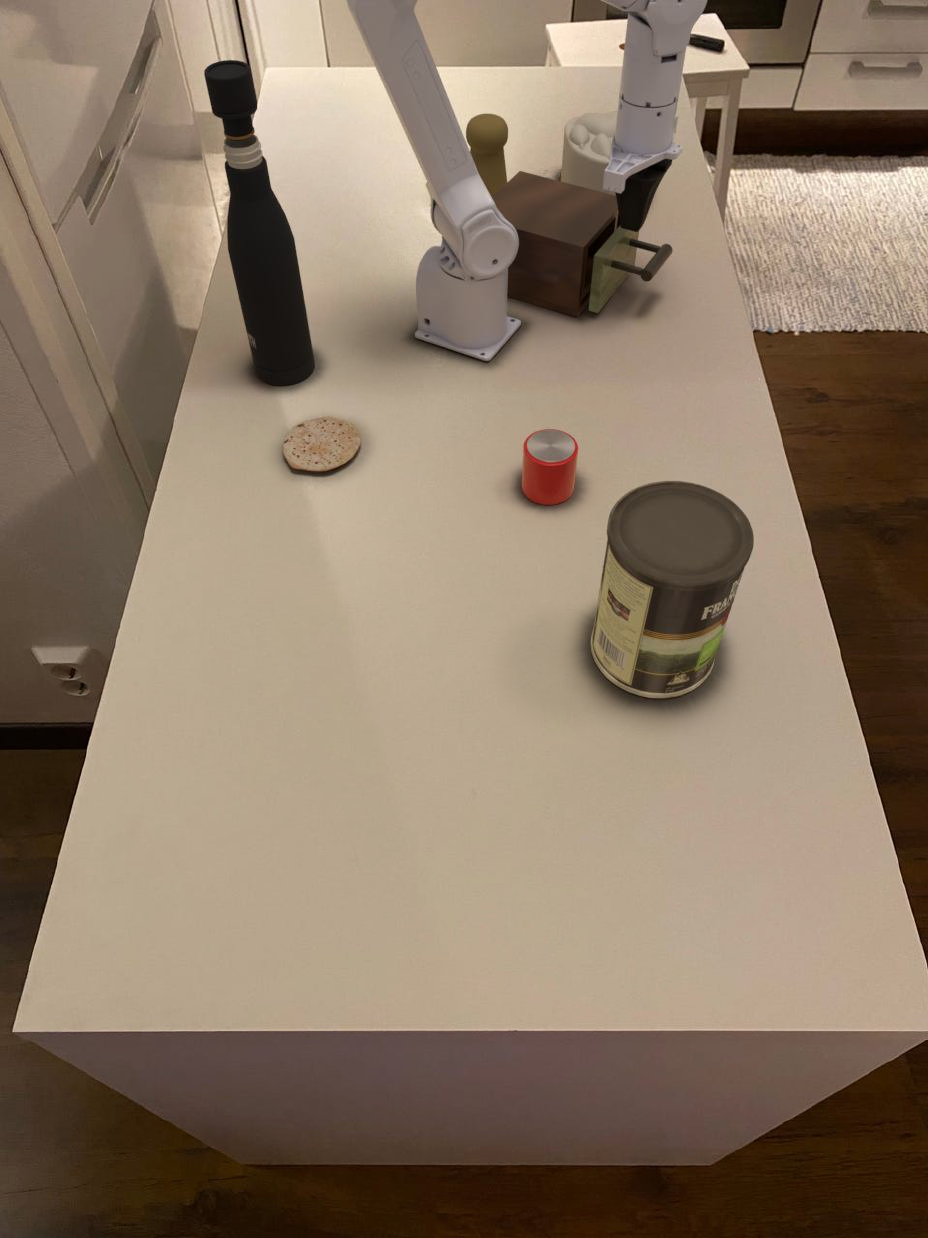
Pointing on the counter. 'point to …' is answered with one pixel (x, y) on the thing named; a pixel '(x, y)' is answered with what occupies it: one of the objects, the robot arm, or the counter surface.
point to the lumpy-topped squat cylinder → (588, 149)
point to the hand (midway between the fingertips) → (631, 227)
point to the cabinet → (552, 238)
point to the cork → (488, 149)
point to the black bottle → (259, 237)
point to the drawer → (617, 263)
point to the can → (549, 466)
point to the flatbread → (321, 444)
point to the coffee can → (668, 586)
